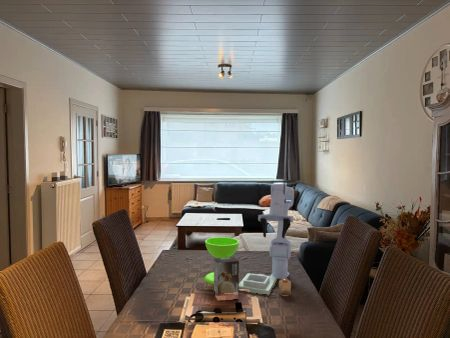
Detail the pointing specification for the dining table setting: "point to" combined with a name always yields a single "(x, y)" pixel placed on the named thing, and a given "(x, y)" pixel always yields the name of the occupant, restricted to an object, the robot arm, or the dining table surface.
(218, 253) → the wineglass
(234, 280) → the coffee box
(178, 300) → the dining table surface
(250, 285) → the pale green rectangular tray
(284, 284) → the spout can
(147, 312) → the dining table surface
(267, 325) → the dining table surface
